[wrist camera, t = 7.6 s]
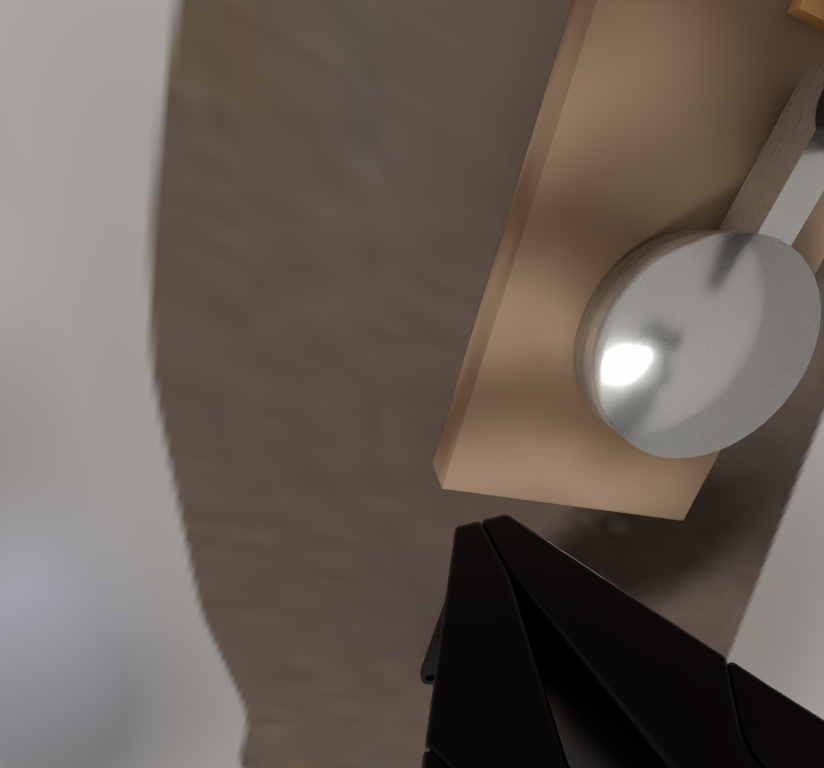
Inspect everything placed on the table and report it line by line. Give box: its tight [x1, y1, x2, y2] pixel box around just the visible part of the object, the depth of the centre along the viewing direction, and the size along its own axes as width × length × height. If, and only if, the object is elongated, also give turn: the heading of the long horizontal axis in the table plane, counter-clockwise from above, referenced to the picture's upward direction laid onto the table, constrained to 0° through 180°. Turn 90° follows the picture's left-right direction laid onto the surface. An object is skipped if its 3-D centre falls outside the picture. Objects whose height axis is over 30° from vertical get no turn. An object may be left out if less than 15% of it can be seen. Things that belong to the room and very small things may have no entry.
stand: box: [433, 0, 824, 521], centre depth 17 cm, size 20×12×2 cm, turn 165°
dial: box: [573, 65, 824, 458], centre depth 14 cm, size 13×8×6 cm, turn 160°
